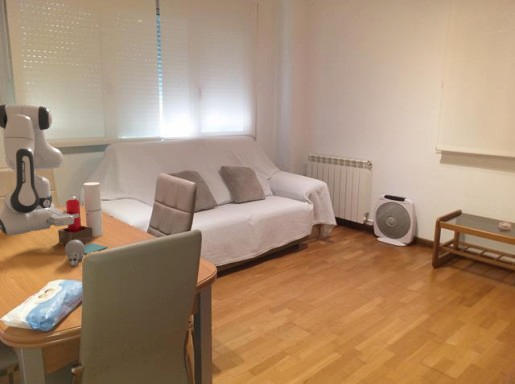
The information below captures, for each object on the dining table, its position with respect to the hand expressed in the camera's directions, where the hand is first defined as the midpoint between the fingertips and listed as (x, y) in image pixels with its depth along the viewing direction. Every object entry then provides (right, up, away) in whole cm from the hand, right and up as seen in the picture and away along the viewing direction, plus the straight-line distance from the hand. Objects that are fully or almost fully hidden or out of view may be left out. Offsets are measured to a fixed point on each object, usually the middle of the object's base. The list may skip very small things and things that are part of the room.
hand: (75, 213), depth 183 cm
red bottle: (-1, -12, +2) cm, 12 cm away
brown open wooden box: (0, -13, +2) cm, 13 cm away
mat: (+10, -15, -8) cm, 20 cm away
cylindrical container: (+4, -11, +12) cm, 17 cm away
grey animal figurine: (+10, -19, -22) cm, 30 cm away
